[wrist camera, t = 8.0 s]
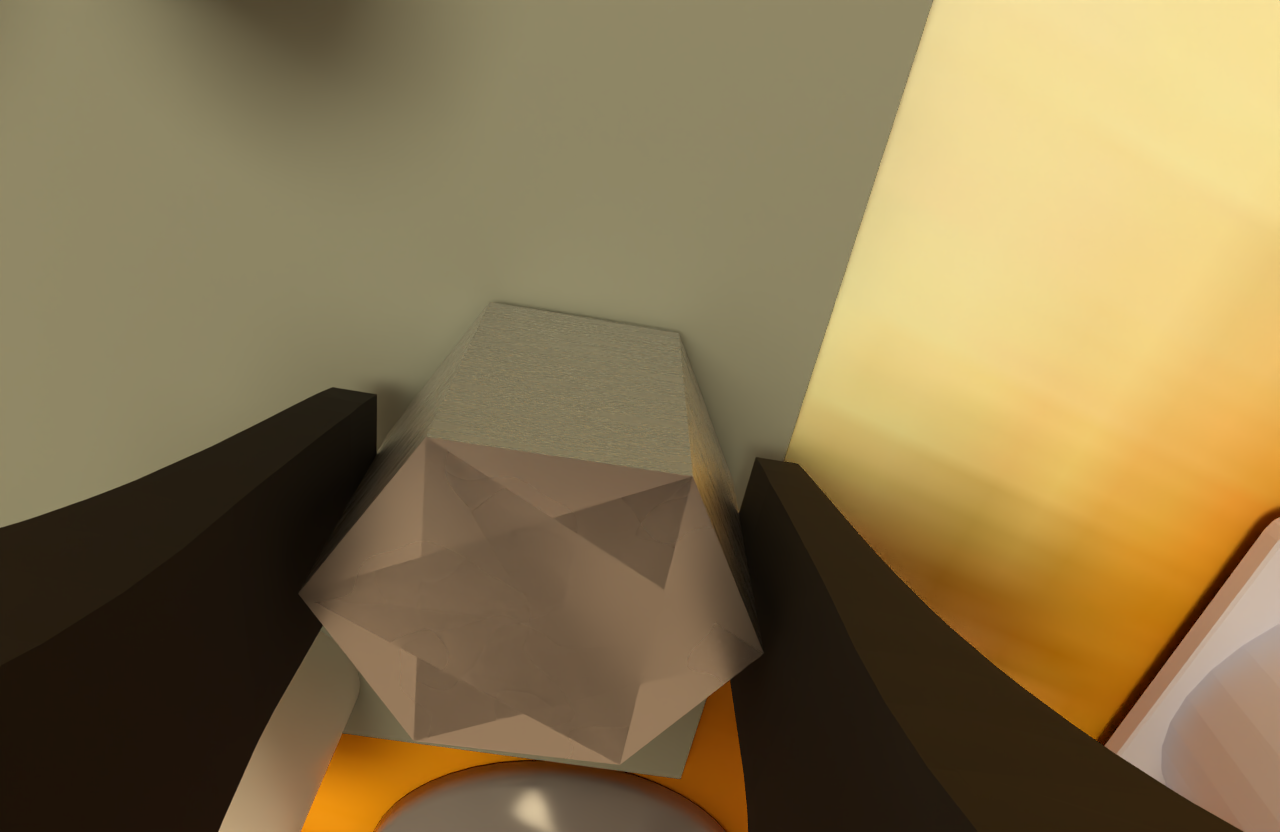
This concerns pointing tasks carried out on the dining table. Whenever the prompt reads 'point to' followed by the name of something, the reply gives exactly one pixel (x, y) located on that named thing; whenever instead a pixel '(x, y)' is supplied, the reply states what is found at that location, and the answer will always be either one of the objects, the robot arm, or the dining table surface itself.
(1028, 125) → the dining table surface
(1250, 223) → the dining table surface
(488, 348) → the faceted crystal gem
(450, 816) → the grey round coaster
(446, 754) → the dining table surface
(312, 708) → the beige capsules
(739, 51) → the mat
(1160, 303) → the dining table surface
